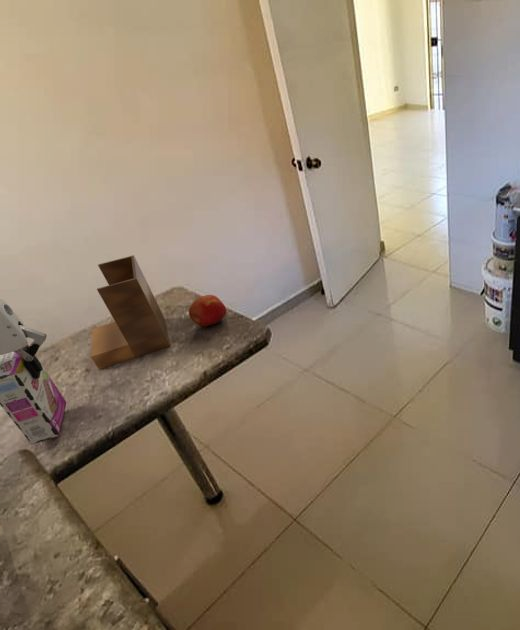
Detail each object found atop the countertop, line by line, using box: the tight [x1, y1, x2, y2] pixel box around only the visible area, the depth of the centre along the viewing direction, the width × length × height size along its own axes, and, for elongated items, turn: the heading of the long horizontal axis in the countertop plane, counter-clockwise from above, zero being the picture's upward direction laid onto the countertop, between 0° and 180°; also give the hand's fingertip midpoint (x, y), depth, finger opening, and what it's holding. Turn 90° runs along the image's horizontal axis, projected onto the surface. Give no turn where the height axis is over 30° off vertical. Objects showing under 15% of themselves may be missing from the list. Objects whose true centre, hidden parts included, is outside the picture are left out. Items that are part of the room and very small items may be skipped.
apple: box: [188, 294, 227, 327], centre depth 117 cm, size 8×8×8 cm
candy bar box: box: [0, 352, 67, 446], centre depth 85 cm, size 11×5×16 cm, turn 29°
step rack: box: [90, 255, 171, 370], centre depth 108 cm, size 16×15×20 cm
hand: (19, 379), depth 83 cm, fingers closed on candy bar box, 5 cm apart
